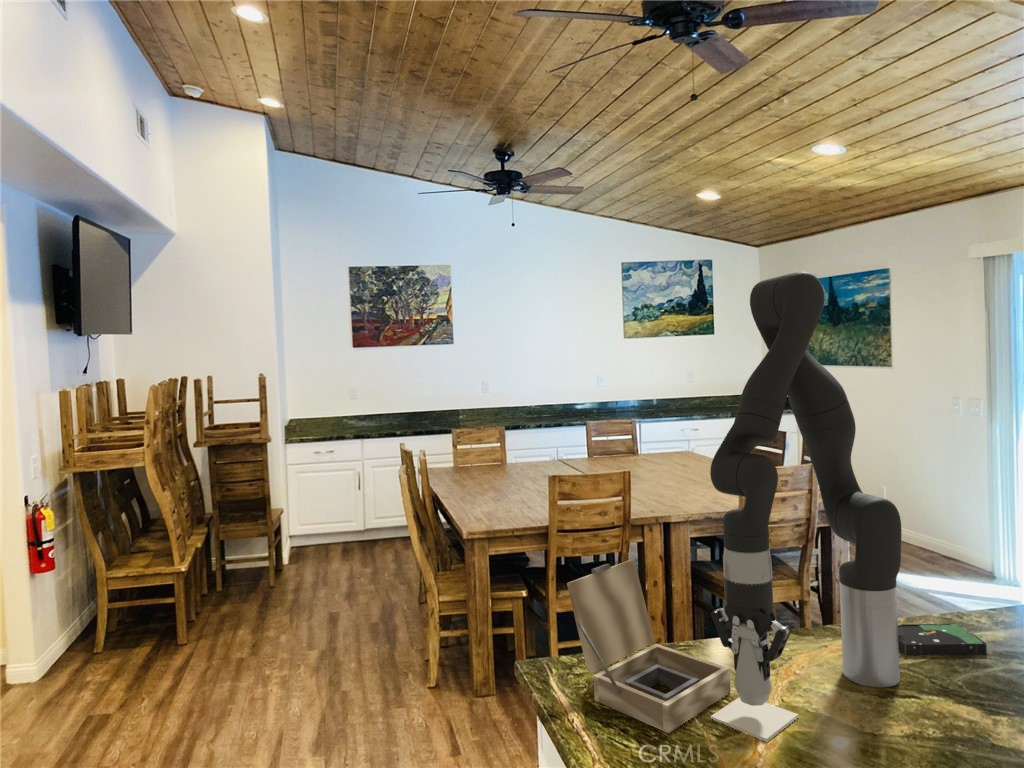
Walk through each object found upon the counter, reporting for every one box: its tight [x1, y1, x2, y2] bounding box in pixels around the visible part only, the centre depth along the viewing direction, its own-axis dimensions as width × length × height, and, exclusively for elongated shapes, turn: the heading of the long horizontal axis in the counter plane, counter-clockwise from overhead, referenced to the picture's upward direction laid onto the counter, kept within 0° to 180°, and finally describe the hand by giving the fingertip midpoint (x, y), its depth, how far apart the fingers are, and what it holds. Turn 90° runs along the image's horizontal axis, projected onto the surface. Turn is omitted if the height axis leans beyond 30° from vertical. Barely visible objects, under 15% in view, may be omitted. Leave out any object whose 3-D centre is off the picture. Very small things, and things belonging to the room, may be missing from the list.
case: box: [576, 622, 732, 734], centre depth 126 cm, size 19×18×14 cm
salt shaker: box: [733, 623, 773, 706], centre depth 116 cm, size 6×6×13 cm
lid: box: [566, 558, 656, 674], centre depth 133 cm, size 18×17×1 cm
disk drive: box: [898, 623, 988, 657], centre depth 140 cm, size 10×3×15 cm
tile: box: [710, 696, 799, 743], centre depth 117 cm, size 10×10×1 cm
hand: (752, 677), depth 116 cm, fingers closed on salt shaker, 3 cm apart
